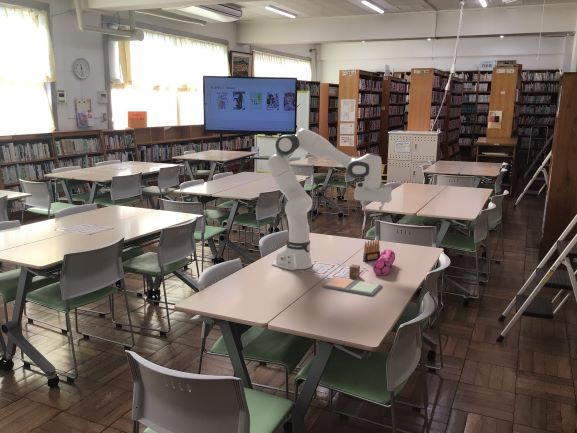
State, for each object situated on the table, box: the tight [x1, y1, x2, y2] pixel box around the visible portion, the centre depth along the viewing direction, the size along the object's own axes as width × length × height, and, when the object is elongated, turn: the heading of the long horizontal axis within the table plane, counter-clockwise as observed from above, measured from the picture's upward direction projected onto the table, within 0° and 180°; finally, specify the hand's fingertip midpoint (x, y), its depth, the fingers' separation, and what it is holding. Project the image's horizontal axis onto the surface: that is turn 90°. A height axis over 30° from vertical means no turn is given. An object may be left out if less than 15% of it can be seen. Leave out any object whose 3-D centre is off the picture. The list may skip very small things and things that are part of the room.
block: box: [348, 264, 361, 280], centre depth 247 cm, size 4×4×6 cm
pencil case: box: [372, 249, 396, 276], centre depth 258 cm, size 21×10×10 cm, turn 161°
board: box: [322, 276, 383, 297], centre depth 234 cm, size 25×14×1 cm, turn 61°
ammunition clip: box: [362, 238, 381, 263], centre depth 274 cm, size 11×2×12 cm, turn 119°
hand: (372, 209), depth 261 cm, fingers open, 8 cm apart
